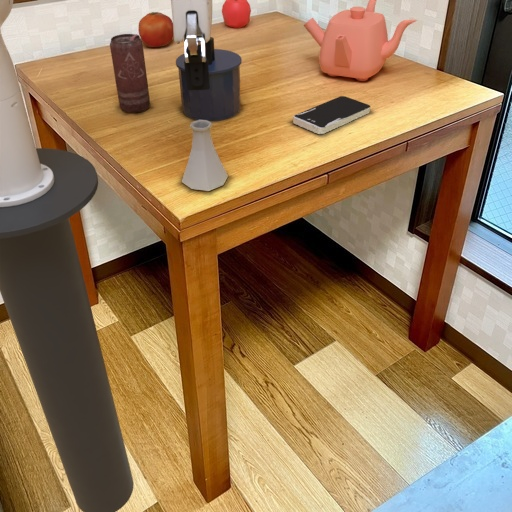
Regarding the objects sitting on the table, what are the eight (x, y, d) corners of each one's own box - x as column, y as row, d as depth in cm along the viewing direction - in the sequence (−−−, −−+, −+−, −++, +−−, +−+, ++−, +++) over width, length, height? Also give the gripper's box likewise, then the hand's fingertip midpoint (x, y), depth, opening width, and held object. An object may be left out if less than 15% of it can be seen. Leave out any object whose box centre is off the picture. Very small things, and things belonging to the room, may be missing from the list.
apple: (216, 26, 164) (214, -5, 159) (235, 19, 169) (234, -11, 164) (238, 31, 160) (237, 0, 155) (257, 24, 165) (256, -6, 160)
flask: (210, 196, 94) (206, 138, 87) (173, 184, 97) (167, 127, 91) (235, 176, 98) (233, 120, 92) (200, 165, 101) (196, 110, 95)
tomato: (147, 53, 147) (142, 19, 142) (135, 42, 154) (130, 10, 149) (182, 47, 151) (179, 14, 146) (168, 37, 157) (165, 5, 152)
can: (157, 105, 122) (149, 35, 113) (136, 116, 118) (126, 44, 109) (135, 99, 125) (125, 30, 116) (113, 109, 120) (102, 39, 112)
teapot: (369, 53, 145) (375, -7, 137) (409, 79, 131) (418, 14, 123) (300, 63, 140) (302, 1, 132) (333, 91, 126) (338, 24, 118)
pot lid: (202, 82, 108) (200, 54, 104) (163, 64, 115) (160, 37, 112) (255, 66, 114) (254, 39, 111) (215, 50, 122) (213, 24, 119)
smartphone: (372, 106, 117) (321, 129, 109) (371, 112, 118) (320, 135, 110) (342, 95, 122) (291, 116, 114) (342, 101, 122) (290, 123, 114)
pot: (205, 126, 114) (202, 78, 108) (171, 108, 121) (166, 61, 115) (252, 109, 119) (251, 63, 114) (216, 93, 127) (214, 48, 121)
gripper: (166, -66, 83) (179, 56, 94) (152, -39, 70) (169, 101, 80) (219, -68, 83) (226, 55, 94) (216, -41, 70) (225, 99, 80)
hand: (200, 76), depth 87 cm, fingers open, 9 cm apart
